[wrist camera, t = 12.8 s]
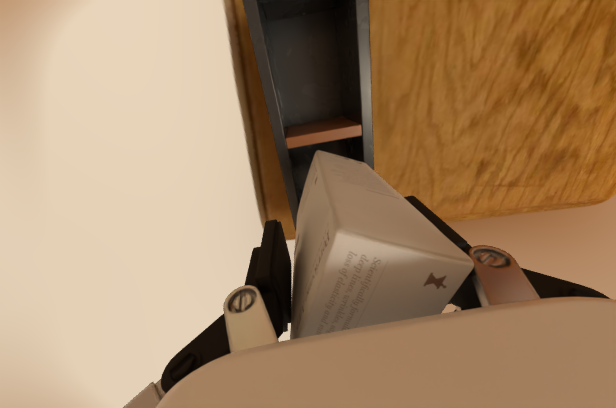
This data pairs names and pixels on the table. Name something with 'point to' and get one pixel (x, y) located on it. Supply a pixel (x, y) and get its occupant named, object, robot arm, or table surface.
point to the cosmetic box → (366, 253)
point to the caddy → (314, 81)
